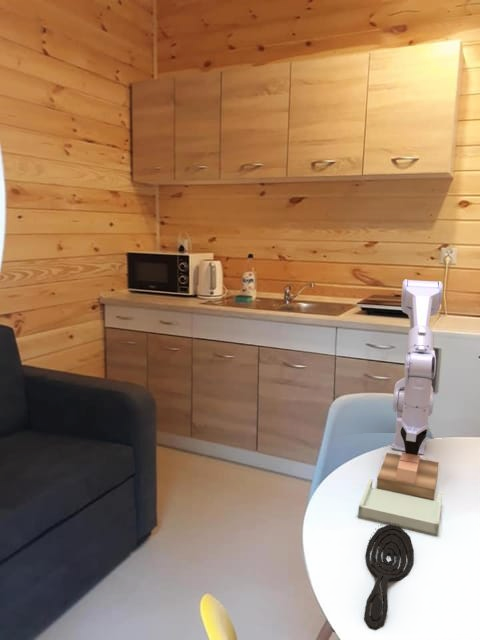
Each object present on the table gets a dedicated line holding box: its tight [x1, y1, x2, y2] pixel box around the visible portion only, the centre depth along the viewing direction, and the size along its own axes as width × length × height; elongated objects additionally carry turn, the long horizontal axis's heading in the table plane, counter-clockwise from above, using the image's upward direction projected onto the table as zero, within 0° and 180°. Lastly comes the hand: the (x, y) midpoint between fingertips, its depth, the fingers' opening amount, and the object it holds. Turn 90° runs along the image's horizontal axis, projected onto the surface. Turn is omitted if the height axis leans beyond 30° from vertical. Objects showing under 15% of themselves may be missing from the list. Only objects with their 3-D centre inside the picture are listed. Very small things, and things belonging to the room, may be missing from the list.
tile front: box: [396, 461, 418, 484], centre depth 120 cm, size 4×4×3 cm
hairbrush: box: [363, 522, 415, 631], centre depth 91 cm, size 8×4×25 cm
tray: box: [357, 478, 443, 537], centre depth 112 cm, size 13×15×2 cm
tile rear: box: [400, 452, 421, 474], centre depth 124 cm, size 4×4×3 cm
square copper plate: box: [376, 452, 439, 501], centre depth 124 cm, size 14×12×3 cm
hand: (411, 458), depth 127 cm, fingers closed
